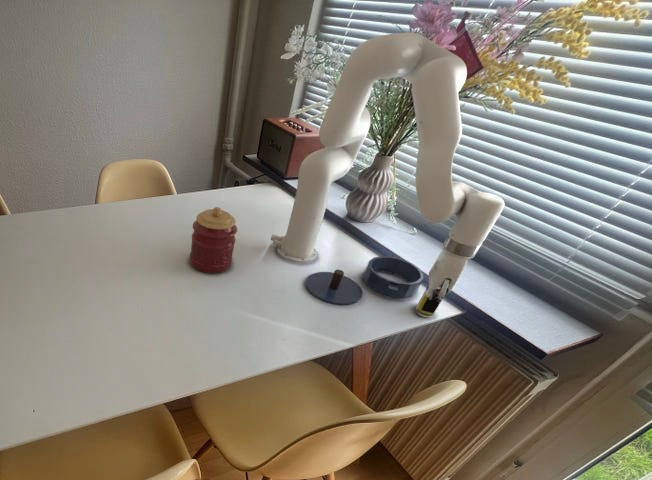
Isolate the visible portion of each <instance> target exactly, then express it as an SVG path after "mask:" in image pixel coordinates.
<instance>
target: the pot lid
mask: <svg viewBox="0 0 652 480" xmlns="http://www.w3.org/2000/svg"><path fill="white" fill-rule="evenodd" d="M344 274H345V272H344V271H343V270H342V269H335V270H334V272H333V271H332V272H331V271H317V272H313V273H312V274H311V273H310V275H308V276H307V277H306V279H305V282H304V285H305V288H306V291H307V292H309V293H310V295H312V296H313V297H314V298H316V299H318V300H319V301H322V302H325V303H327V304H332V305H337V306H350V305H354V304H356V303H358V302H359V301H361V299H362V298H363V294H364V293H363V289H362V287H361V286H360V284H359V283H358V282H356V281H355V280H354V279H352V278H351V277H348V276H347V275H344Z"/></svg>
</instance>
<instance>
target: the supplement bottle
mask: <svg viewBox="0 0 652 480" xmlns="http://www.w3.org/2000/svg"><path fill="white" fill-rule="evenodd" d="M427 287H428V289H427V288H426V289H427V290H426V289H425V290H426V291H425V290H424V292H423V293H422V296H421V297H420V299H419V300H418V303H417V304H416V306H415V311H416V313H417V315H418V316H421V317H423V318H431V317H433V316H434V314H435V312H436V311H437V309H436V310H435V312H434V313H430V312H426V311H422V307H423V305H424V303H425V301H426V299H427V298H428V297H430V295H431V293H432V290H433V289H432V290H431V289H430V288H429V286H427ZM440 288H441V287H438V289H440ZM438 293H439V292H437V291H436V292H435V294H438ZM435 294H434V295H435ZM442 301H443V299H442V300H441V302H442ZM439 306H440V304H439V305H438V307H439Z"/></svg>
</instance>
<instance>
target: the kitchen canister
mask: <svg viewBox="0 0 652 480" xmlns="http://www.w3.org/2000/svg"><path fill="white" fill-rule="evenodd" d="M195 219H196V220H195V221H194V222H193V223H192V229H193V232H192V234H191V244H190V245H191V247H190V253H189V260H190V265H191V266H192V268H194V269H195V270H198V271H199V272H203V273H207V274H221V273H223V272H226V271H227V270H229V269H230V267H231V265H232V263H233V253H234V249H235V248H234V247H235V243H236V236H235V235H236V234H237V232H238V226H237V225H236V218H235V217H234V216H233V215H232V214H231V213H230V212H228V211H226V210H223V209H221V208H220V207H218V206H215V207H214V208H210V209H206V210H205V209H204V211H201V212H199V213H198V214H196V217H195Z"/></svg>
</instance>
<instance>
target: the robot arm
mask: <svg viewBox="0 0 652 480" xmlns="http://www.w3.org/2000/svg"><path fill="white" fill-rule="evenodd" d="M467 76H468V69H467V65H466V63H465V61H464V60H463V59H462V58H461V57H459V56H458V55H457V54H455V53H453V52H451V51H449V50H448V49H446V48H444V47H443V46H441V45H439V44H437V43H435V41H432V40H430V39H429V38H427V37H425V36H423V35H422V34H420V33H417V32H396V33H388V34H387V33H386V34H383V35H378V36H375V37H372V38H369V39H367V40H365V41H363V42H362V43H360V44H358V46H357V47H355V49H354V50H352V52H351V53H350V55H349V56H348V58H347V59H346V62H345V64H344V67H343V68H342V71H341V74H340V77H339V80H338V82H337V85H336V87H335V90H334V92H333V94H332V96H331V99H330V102H329V104H328V107H327V109H326V111H325V114H324V116H323V119H322V120H321V124H320V127H319V132H318V139H319V141H320V143H321V145H322V146H323V148H320V149H318V150H316V151H313V152H311V153H310V154H308V155H307V156H306V157H305V158H304V159H303V160H302V161H301V163H300V166H299V169H298V175H297V185H296V191H295V196H294V200H293V204H292V205H293V206H292V210H291V214H290V217H289V220H288V221H289V222H288V225H287V229H286V232H285V233H286V234H285V235H281V236H279V235H277V234H271V237H270V241H272V244H273V245H278V246H277V253H278V255H280V257H282V258H284V259H285V260H286V261H287V260H288V261H291V262H294V263H300V264H301V263H302V264H304V263H305V264H306V263H311V262H313V261H315V259H317V255H318V252H317V250H316V249H315V245H316V242H317V239H318V236H319V233H320V230H321V226H322V223H323V220H324V216H325V213H326V209H327V206H328V203H329V196H330V186H331V185H332V183H333V182H335V181H338V180H340V179H341V178H343V177H344V176H346V175H347V174H348V173H349V171H351V168H352V167H353V164H354V163H355V161H356V159H357V156H358V154H359V152H360V150H361V149H362V146H363V144H364V142H365V140H366V138H367V136H368V134H369V131H370V127H371V121H372V120H371V113H370V111H369V109H368V108H367V107H366V106H367V103H368V102H369V100H370V97H371V94H372V91H373V86H374V84H375V82H376V81H380V80H389V79H394V78H395V79H396V78H398V77H400V78H402V79H404V80H405V81H407V82H408V83H410V84H411V95H412V102H413V111H414V115H415V122H416V131H417V139H418V150H417V155H416V165H415V180H414V181H415V190H416V191H415V192H416V198H417V199H416V201H417V205H418V209H419V213H420V215H421V217H422V218H423V219H424V220H425V221H427V222H428V223H431V224H442V223H445V222H447V221H449V220H450V219H451V218H453V217H456V220H455V222H454V224H453V226H452V227H451V230H450V231H449V233H448V235H447V237H446V238H445V240H444V241H443V244H442V248H441V249H442V250H441V251H440V253H439V254H438V256H437V258H436V260H435V261H434V263H433V264H432V267H431V268H430V270H429V272H428V286H427V287H426V288H425V290H424V292H425V291H426V290H427V289H428V287H429V288H430V289H431V290H432V289H433V290H432V293H431V295H430V297H428V298H427V299H426V301H425V303H424V305H423V307H422V311H426V312H430V313H434V314H435V312H436V311H437V310H438V307H439V306H440V304H441V302H442V301H443V299H444V297H445V296H446V294H449V293H451V291H452V290H453V289H454V287H455V285H456V284H457V282H458V281H459V278H460V277H461V275H462V273H463V271H464V269H465V268H466V265H467V263H468V261H469V260H471V259H473V258H475V256H476V255H477V253H478V251H479V250H480V248H481V247H482V245H483V243H484V242H485V240H486V238H487V237H488V235H489V233H490V232H491V230H492V229H493V227H494V225H495V223H496V222H497V221H498V219H499V217H500V215H501V213H502V211H503V210H504V208H505V205H506V204H505V201H504V199H503V198H502V197H501V196H498V195H496V194H493V193H491V192H485V191H480V190H479V189H476V188H474V187H473V186H470V185H469V184H467V183H464V182H462V181H459V180H458V181H457V180H453V162H454V157H455V153H456V150H457V148H458V146H459V143H460V141H461V138H462V134H463V123H462V115H461V105H460V104H461V103H460V97H459V91H460V90H461V89H462V88H463V86H464V85H465V82H466V80H467ZM438 287H441V288H440V289H438ZM436 291H437V292H439V293H438V294H435V292H436ZM434 294H435V295H434ZM441 300H442V301H441ZM438 305H439V306H438ZM435 310H436V311H435Z"/></svg>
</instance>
